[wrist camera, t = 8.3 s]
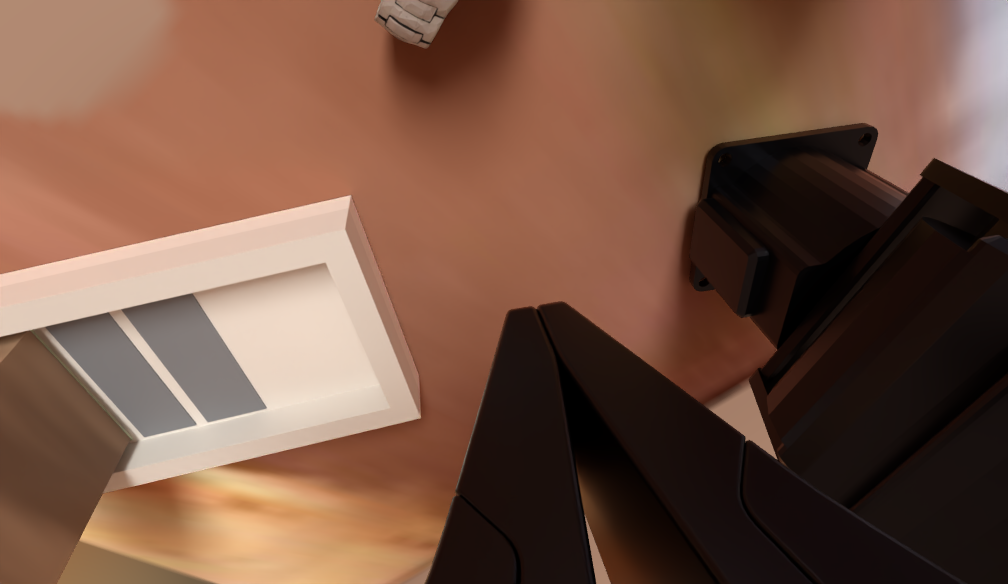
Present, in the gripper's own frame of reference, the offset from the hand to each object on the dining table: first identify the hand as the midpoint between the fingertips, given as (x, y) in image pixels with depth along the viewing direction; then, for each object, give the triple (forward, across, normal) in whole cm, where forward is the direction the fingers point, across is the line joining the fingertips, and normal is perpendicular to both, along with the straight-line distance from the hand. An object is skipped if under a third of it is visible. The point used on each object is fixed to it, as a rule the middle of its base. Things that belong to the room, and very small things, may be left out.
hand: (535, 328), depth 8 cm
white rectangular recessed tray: (+12, +12, +8) cm, 19 cm away
